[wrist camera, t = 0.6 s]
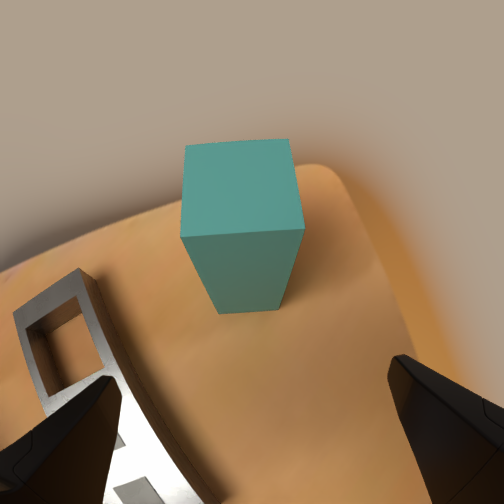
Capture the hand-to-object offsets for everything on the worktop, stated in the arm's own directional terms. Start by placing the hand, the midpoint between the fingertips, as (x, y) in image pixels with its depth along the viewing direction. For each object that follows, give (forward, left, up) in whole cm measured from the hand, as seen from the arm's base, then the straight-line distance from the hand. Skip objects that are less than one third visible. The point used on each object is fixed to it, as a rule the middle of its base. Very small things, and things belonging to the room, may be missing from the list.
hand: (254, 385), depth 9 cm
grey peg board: (+3, +12, -13) cm, 18 cm away
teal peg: (+7, -3, -13) cm, 15 cm away
